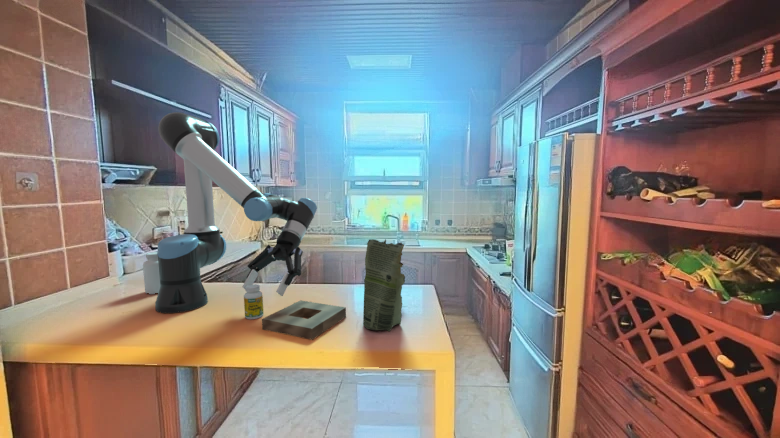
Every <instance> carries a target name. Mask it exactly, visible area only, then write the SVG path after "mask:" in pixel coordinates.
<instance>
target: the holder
mask: <svg viewBox="0 0 780 438" xmlns="http://www.w3.org/2000/svg"><path fill="white" fill-rule="evenodd" d="M345 318H347V307H345V306H339V305H333V304H332V305H331V304H326V303H320V302H315V301H314V302H313V301H307V300H301V299H300V300H299V301H296V302H294V303H291V304H290V305H288V306H285V307H284V308H281V309H280V310H277V311H275V312H273V313H272V314H269V315H267V316H265V317H263V318H261V326H262V327H261V328H262V330H264V331H270V332H274V333H278V334H284V335H288V336H293V337H297V338H302V339H306V340H307V339H308V340H312V341H313V340H314V339H316V338H317V337H318V336H320V335H321V334H323V333H325V332H326V331H327V330H329V329H330V328H331V327H333V326H335V325H336V324H338V323H339V322H341V321H342V320H343V319H345Z"/></svg>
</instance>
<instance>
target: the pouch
mask: <svg viewBox="0 0 780 438" xmlns="http://www.w3.org/2000/svg"><path fill="white" fill-rule="evenodd" d="M404 247H405V244H404V243H402V242H397V243H392V242H391V243H387V239H386V238H385V239H384V240H383V241H380V240H377V239H372V238H371V239H368V241H367V242H366V250H365V251H366V252H365V256H364V257H365V258H364V267H365V277H364V280H363V283H364V288H363V289H364V291H363V318H362V319H363V321H362V323H363V327H365V328H366V329H368V330H372V331H387V332H391V330H392V329H393V327H395V326H397V325H401V323H402V316H403V314H402V308H403V297H402V289H403V285H404V284H405V279H406V276H405V274H404V273H402V267H403V266H404V263H402V262H401V261H402V256H403V252H402V251H403V250H404Z"/></svg>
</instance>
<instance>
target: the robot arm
mask: <svg viewBox="0 0 780 438" xmlns="http://www.w3.org/2000/svg"><path fill="white" fill-rule="evenodd" d="M158 135H159V136H160V139H161V140H162V141H163V142H164V144H165V145H167V147H169V149H170V150H172V151H173V152H174V153H175V154H176V155H178V156H179V157H180V158H181V159H182V160H183V165H184V166H183V169H184V181H185V182H184V184H185V194H186V195H185V196H186V197H185V198H186V209H187V210H186V212H187V223H188V225H187V227H186V229H184V230H183V233H184V234H176V235H172V236H171V235H170V236H168V237H165V238H163V239H160V240H159V242H158V243H157V251H156V252H157V255H158V262H159V275H160V289H159V292H158V294H157V296H156V300H155V311H156V312H157V313H160V312H161V313H162V314H177V313H183V312H189V311H192V310H196V309H200V308H201V307H203V306H205V305H207V304H208V302H209V300H208V294H207V292H206V290H205V287H204V285H203V283H202V280H201V268H204V267H207V266H210V265H214V264H215V263H216V262H218V261H220V260H221V259H222V258H223V257H224V255H225V253H226V250H227V242H226V239H225V237H223V235H222V234H221V231H220V227H218V226H217V225H216V223H215V221H216V220H215V209H214V208H215V207H214V196H213V195H214V193H213V192H214V191H213V183H214V184H215V185H216V186H217V187H219V188H220V189H221V190H222V191H223V192H225V193H226V194H227V195H228V196H229V197H230V198H232V200H234V201H235V202H236V203H237V204H238V205H239V206H240V207H242V208H243V212H244V214H245V216H246V218H247V219H248V220H250V221H253V222H264V221H268V220H270V219H275V218H276V219H277V218H278V219H280V220H284V221H286V222H285V224H284V225H283V228H281V229H282V230H281V231H280V233H279V234H278V237H277V239H276V244H275V245H274V246H271V245H270V244H268V245H266V246H265V248H264V249H263V251H261V252H260V253H259V254H258V255H257V256H256V257H255V258H253V259H252V261H251V262H249V263H248V264H247V267H248V269H249V272H248V274H247V276H246V279H245V281H244V283H243V284H242V288H243V289H244V290H245V291H246V286H248V285H254V284H255V281H256V279H257V277H258V275H259V272H260V271H262V270H263V269H265V267H266V266H268V265H270V264H272V263H273V262H276V261H282V262H285V265H286V269H287V272H285V274H284V275H283V277H282V279H281V281H280V284H279V285H278V287H277V289H276V293H277V294H278V295H279V296H280V297H283V296H284V294H285V292H286V290H287V289H288V287H289V286H290V285H291V284H292V281H293V280H294V278H295V277H296V276H297V277H300V276H301V275H302V256H303V253H304V252H303V250H302V249H301V247H299V246H300V244H301V243H302V241H303V238H304V237H305V235H306V233H307V231H308V228H309V227H310V225H311V223H312V221H313V219H314V218H315V215H316V212H317V209H318V206H317V203H316V202H315V201H313V200H312V199H310V198H308V197H301V198H299V199H298V200H297V201H294V200H291V199H288V198H285V197H282V196H279V195H277V194H273V193H269V192H264V193H263V192H261V191H260V190H259V189H258V188H257V187H256V186H255V185H253V184H252V183H251V182H250V181H249V180H248V179H247V178H246V177H245V176H243V174H241V173H240V172H239V171H238V170H236V169H235V168H234V167H233V166H232V165H231V164H230V162H229V163H228V162H227V161H226V160H225V159H224V158H223V157H222V156H221V155H220V154H218V152H217V151H215V150H216V149H217V148H218V146H219V145H220V140H221V139H220V134H219V131H218V129H217V127H216V126H214V124H213V123H211V122H210V121H207V120H205V119H204V118H202V117H201V118H200V117H197V116H193V115H190V114H187V113H184V112H179V111H177V112H176V111H174V112H169V113H167V114H166V115H164V116H163V117H162V118H161V119H160V121H159V123H158ZM292 256H294V257H293V258H292Z"/></svg>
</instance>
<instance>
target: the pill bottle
mask: <svg viewBox="0 0 780 438" xmlns="http://www.w3.org/2000/svg"><path fill="white" fill-rule="evenodd" d="M145 258H146V260H145V261H144V262H143V264H142V269H143V271H142V272H143V282H144V283H143V284H144V292H145V294H147V293H149V294H148V295H156V294H155V293H158V292H159V289H160V275H159V262H158V255H157V251H153V252H148V253H146V254H145Z"/></svg>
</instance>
